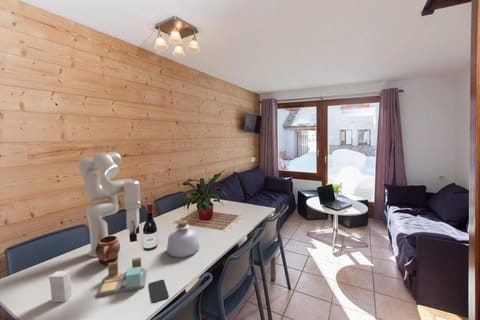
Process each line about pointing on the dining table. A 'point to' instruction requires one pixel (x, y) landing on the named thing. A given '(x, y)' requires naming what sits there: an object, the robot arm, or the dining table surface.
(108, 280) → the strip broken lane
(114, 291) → the lane board
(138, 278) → the cube
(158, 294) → the phone
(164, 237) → the dining table surface
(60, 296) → the skincare box
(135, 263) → the strip cube lane
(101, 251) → the decorative planter
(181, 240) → the light grey vase
